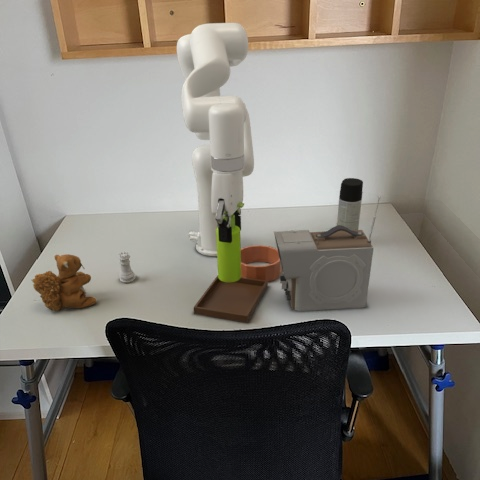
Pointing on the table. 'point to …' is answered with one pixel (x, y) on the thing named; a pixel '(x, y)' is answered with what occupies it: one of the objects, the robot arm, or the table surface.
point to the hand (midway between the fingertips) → (230, 235)
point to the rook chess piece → (125, 269)
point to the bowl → (263, 255)
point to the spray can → (350, 203)
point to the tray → (231, 299)
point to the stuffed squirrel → (64, 285)
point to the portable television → (325, 267)
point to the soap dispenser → (229, 253)
